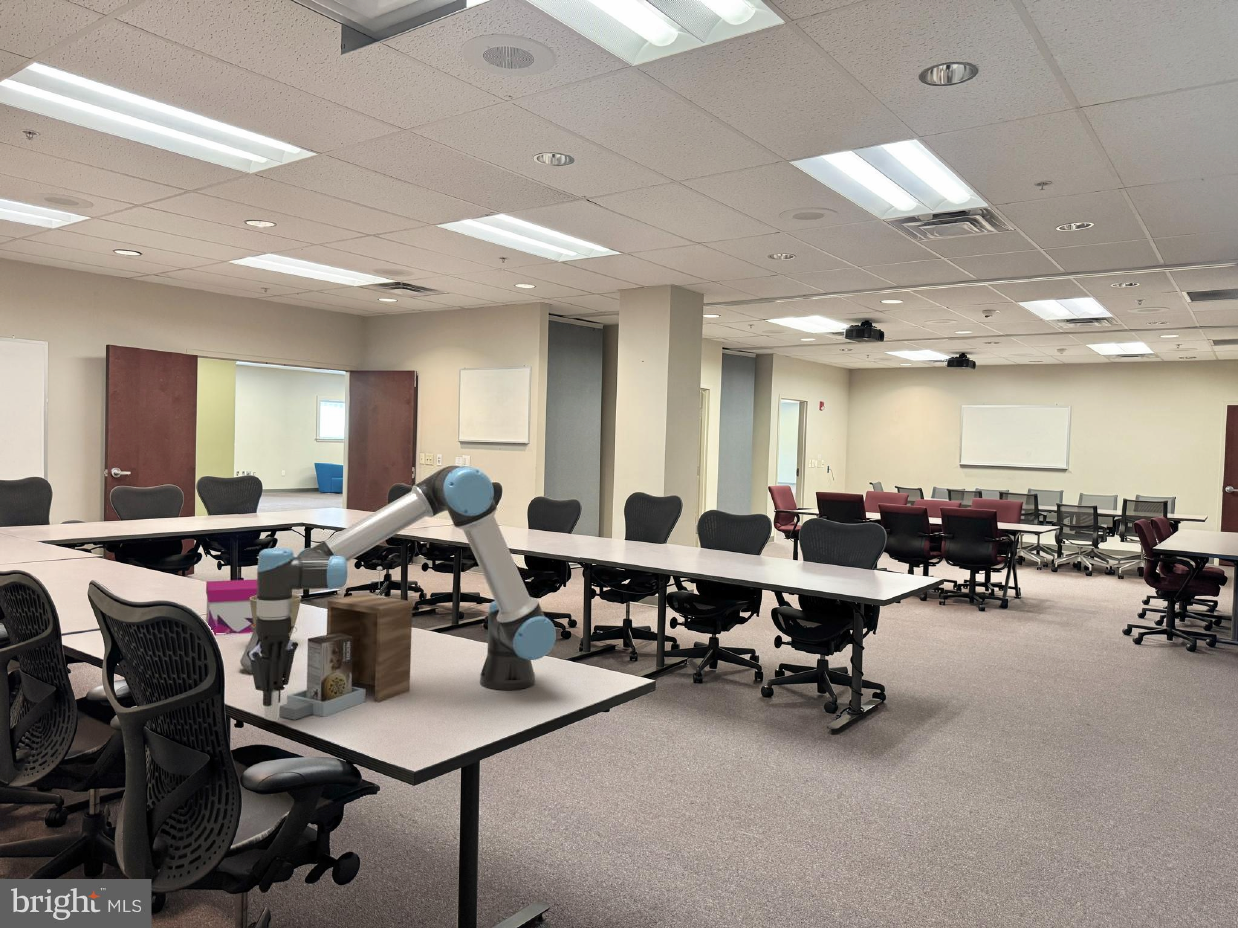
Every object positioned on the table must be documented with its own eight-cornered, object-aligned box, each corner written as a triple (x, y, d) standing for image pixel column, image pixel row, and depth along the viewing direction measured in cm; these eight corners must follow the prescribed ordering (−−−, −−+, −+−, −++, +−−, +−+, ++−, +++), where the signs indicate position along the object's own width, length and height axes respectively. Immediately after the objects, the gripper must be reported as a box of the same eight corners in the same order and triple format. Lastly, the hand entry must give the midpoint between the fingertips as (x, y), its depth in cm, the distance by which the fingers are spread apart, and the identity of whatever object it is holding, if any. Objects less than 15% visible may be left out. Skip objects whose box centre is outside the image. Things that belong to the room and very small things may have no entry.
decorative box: (205, 624, 295) (206, 581, 295) (264, 620, 304) (265, 579, 304) (207, 635, 279) (208, 590, 278) (269, 631, 288) (271, 587, 287)
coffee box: (337, 694, 216) (338, 631, 216) (352, 700, 213) (354, 636, 212) (304, 702, 209) (306, 637, 209) (320, 708, 205) (322, 641, 205)
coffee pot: (231, 669, 239) (233, 617, 239) (270, 662, 249) (271, 611, 248) (272, 685, 226) (274, 629, 226) (311, 676, 235) (312, 623, 235)
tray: (365, 701, 214) (365, 689, 214) (305, 723, 197) (306, 709, 197) (329, 694, 219) (329, 681, 219) (268, 714, 202) (268, 701, 202)
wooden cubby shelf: (409, 691, 225) (412, 601, 225) (378, 702, 214) (381, 608, 214) (357, 681, 233) (360, 593, 232) (324, 691, 222) (327, 600, 222)
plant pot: (288, 654, 258) (289, 602, 258) (239, 652, 259) (241, 600, 258) (307, 643, 273) (308, 594, 273) (261, 641, 274) (262, 592, 273)
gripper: (284, 609, 202) (281, 708, 203) (238, 619, 190) (235, 723, 191) (307, 613, 199) (305, 713, 199) (262, 623, 187) (259, 729, 188)
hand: (271, 718), depth 195 cm, fingers closed
